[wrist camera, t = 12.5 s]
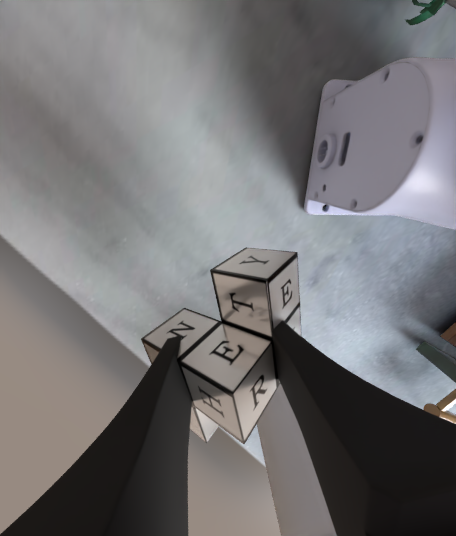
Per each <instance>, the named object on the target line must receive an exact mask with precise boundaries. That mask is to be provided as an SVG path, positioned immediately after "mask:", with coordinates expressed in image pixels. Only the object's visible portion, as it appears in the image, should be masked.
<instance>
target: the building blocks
mask: <svg viewBox="0 0 456 536" xmlns="http://www.w3.org/2000/svg"><path fill="white" fill-rule="evenodd" d="M210 272H211V276H212V281H213V285H214V290H215V294H216V299H217V303H218V308H219V312H220V317H221V321H219V320H216V319H213V318H211V317H208V316H205V315H202V314H200V313H197V312H194V311H192V310H189V309H186V308H183V309H182V310H180V311H179V312H177V313H176V314H175V315H173V316H172V317H170V318H169V319H168V320H166V321H165V322H163V323H162V324H161V325H159V326H158V327H156V328H155V329H154V330H152V331H151V332H150V333H148V334H147V335H145V336H144V337H143V338H141V340H142V343H143V345H144V347H145V350H146V352H147V355H148V357H149V359H150V362H151V364H152V363H153V361H154V360H155V358H156V356H157V355H158V353H159V351H160V350H161V348H162V346H163V345H164V343H165V342H166V340H167V339H168V338H172V337H176V336H180V335H181V339H180V347H179V354H178V358H177V362H178V365H179V368H180V370H181V373H182V376H183V379H184V381H185V384H186V387H187V389H188V392H189V395H190V397H191V400H192V408H191V420H190V429H191V430H192V431H193V432H194V433H195V434H196V435H197V436H199V437H200V438H201V439H202V440H203V441H205V442H206V443H207V441H208V440H209V439H210V437H211V436H212V435H213V433H214V432H215V430H216V429H217V428H218V426H220V427H221V428H223V429H224V430H225V431H227V432H228V433H229V434H231V435H232V436H233V437H235V438H236V439H237V440H239V441H240V442H241V443H243V444H245V442H246V441H247V439H248V437H249V436H250V434H251V432H252V431H253V429H254V427H255V426H256V424H257V422H258V421H259V419H260V417H261V416H262V414H263V412H264V411H265V409H266V407H267V406H268V404H269V402H270V401H271V399H272V397H273V396H274V394H275V392H276V390H277V389H278V387H279V385H280V384H281V383H280V381H279V379H278V372H277V365H276V357H275V350H274V343H273V336H272V330H273V329H274V328H275V327H276V326H277V325H278V324H279V323H280V322H281V321H282V320H283V321H285V322H286V323H287V324H288V325H289V326H290V327H291V328H292V329H293V330H294V331H296V332H297V333H298V334H299V335H300V336H301V316H300V295H299V275H298V254H297V252H289V251H278V250H267V249H256V248H244V249H243V250H241V251H240V252H238V253H236V254H235V255H233V256H232V257H230V258H228V259H227V260H225V261H224V262H222V263H221V264H219V265H217V266H216V267H214V268H213V269H211V270H210Z"/></svg>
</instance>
